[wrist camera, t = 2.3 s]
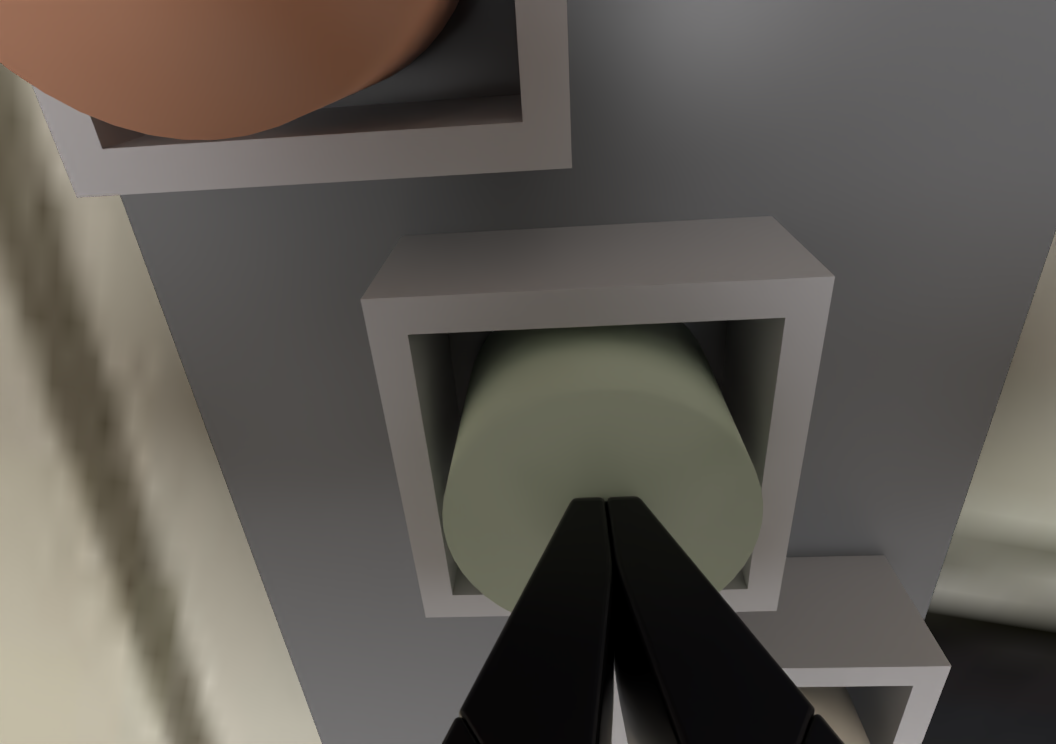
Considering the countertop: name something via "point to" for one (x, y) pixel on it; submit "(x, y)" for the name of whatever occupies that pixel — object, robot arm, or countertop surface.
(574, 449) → the sage button
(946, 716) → the countertop surface
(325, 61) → the terracotta button
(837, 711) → the cream button
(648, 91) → the panel
